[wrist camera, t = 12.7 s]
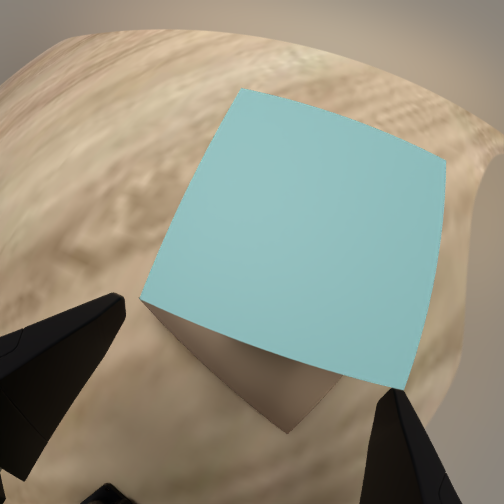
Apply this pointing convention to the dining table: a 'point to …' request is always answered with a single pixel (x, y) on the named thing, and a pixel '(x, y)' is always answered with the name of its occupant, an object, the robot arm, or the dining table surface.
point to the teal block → (307, 239)
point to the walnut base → (254, 371)
